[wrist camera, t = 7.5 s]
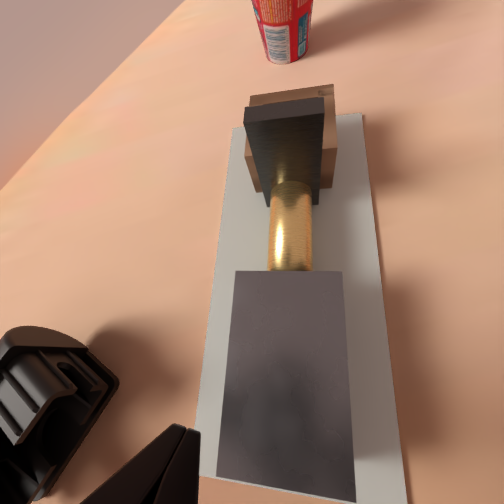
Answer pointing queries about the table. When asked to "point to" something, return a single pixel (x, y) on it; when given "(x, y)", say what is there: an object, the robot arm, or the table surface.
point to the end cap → (45, 407)
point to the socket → (328, 134)
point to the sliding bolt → (288, 175)
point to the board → (355, 301)
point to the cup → (284, 28)
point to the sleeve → (288, 385)
